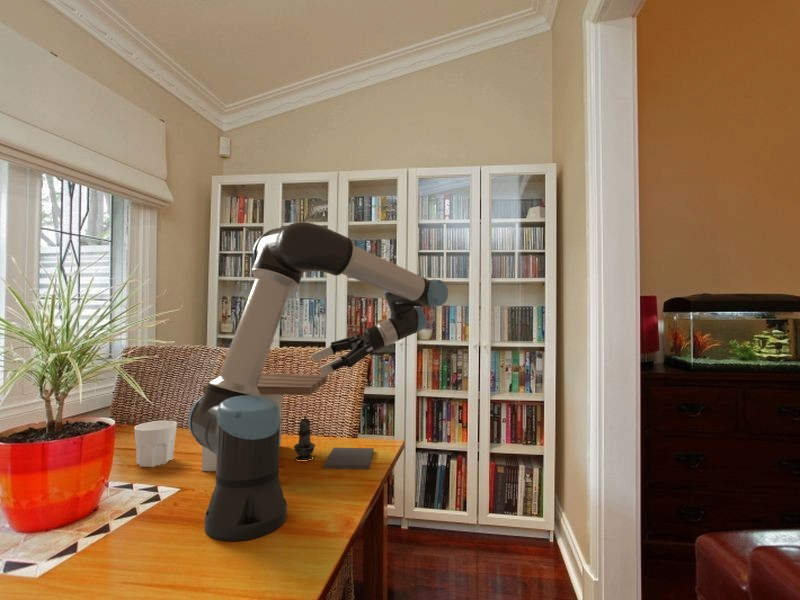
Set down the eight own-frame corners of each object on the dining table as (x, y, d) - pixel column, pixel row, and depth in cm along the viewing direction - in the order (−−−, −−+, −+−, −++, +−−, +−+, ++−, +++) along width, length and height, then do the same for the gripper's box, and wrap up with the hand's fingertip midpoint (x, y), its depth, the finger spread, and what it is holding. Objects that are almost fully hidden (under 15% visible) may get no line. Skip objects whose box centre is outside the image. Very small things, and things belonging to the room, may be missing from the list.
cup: (129, 461, 112) (130, 425, 113) (169, 453, 119) (170, 418, 120) (138, 471, 105) (139, 432, 106) (180, 462, 112) (181, 425, 113)
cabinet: (308, 473, 105) (310, 387, 106) (200, 471, 105) (203, 385, 106) (326, 446, 127) (327, 374, 128) (236, 444, 127) (238, 373, 128)
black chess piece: (304, 453, 120) (304, 412, 120) (319, 457, 117) (320, 415, 117) (289, 459, 115) (290, 416, 115) (304, 463, 112) (305, 419, 112)
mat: (368, 469, 108) (369, 465, 108) (323, 468, 109) (323, 464, 109) (373, 451, 122) (373, 448, 122) (333, 450, 123) (333, 447, 123)
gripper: (398, 357, 117) (329, 390, 111) (372, 337, 140) (313, 363, 134) (390, 333, 115) (319, 366, 109) (364, 317, 138) (305, 343, 132)
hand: (316, 365), depth 122 cm, fingers open, 13 cm apart
